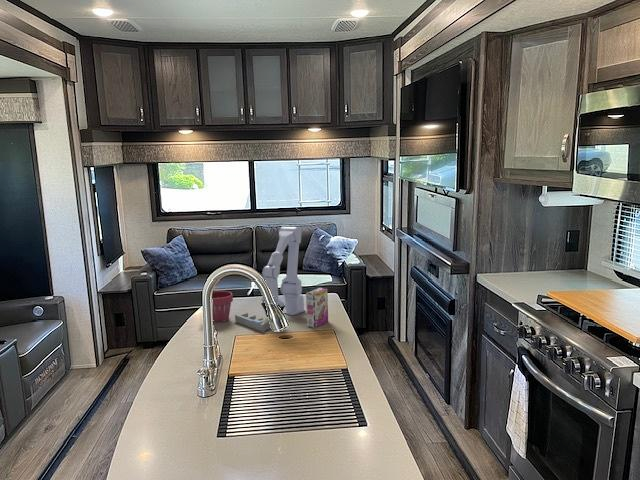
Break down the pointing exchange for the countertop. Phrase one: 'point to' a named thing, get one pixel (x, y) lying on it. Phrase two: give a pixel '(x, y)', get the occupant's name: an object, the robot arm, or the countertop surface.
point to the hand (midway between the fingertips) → (273, 318)
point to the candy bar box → (317, 307)
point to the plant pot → (221, 305)
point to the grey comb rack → (252, 322)
